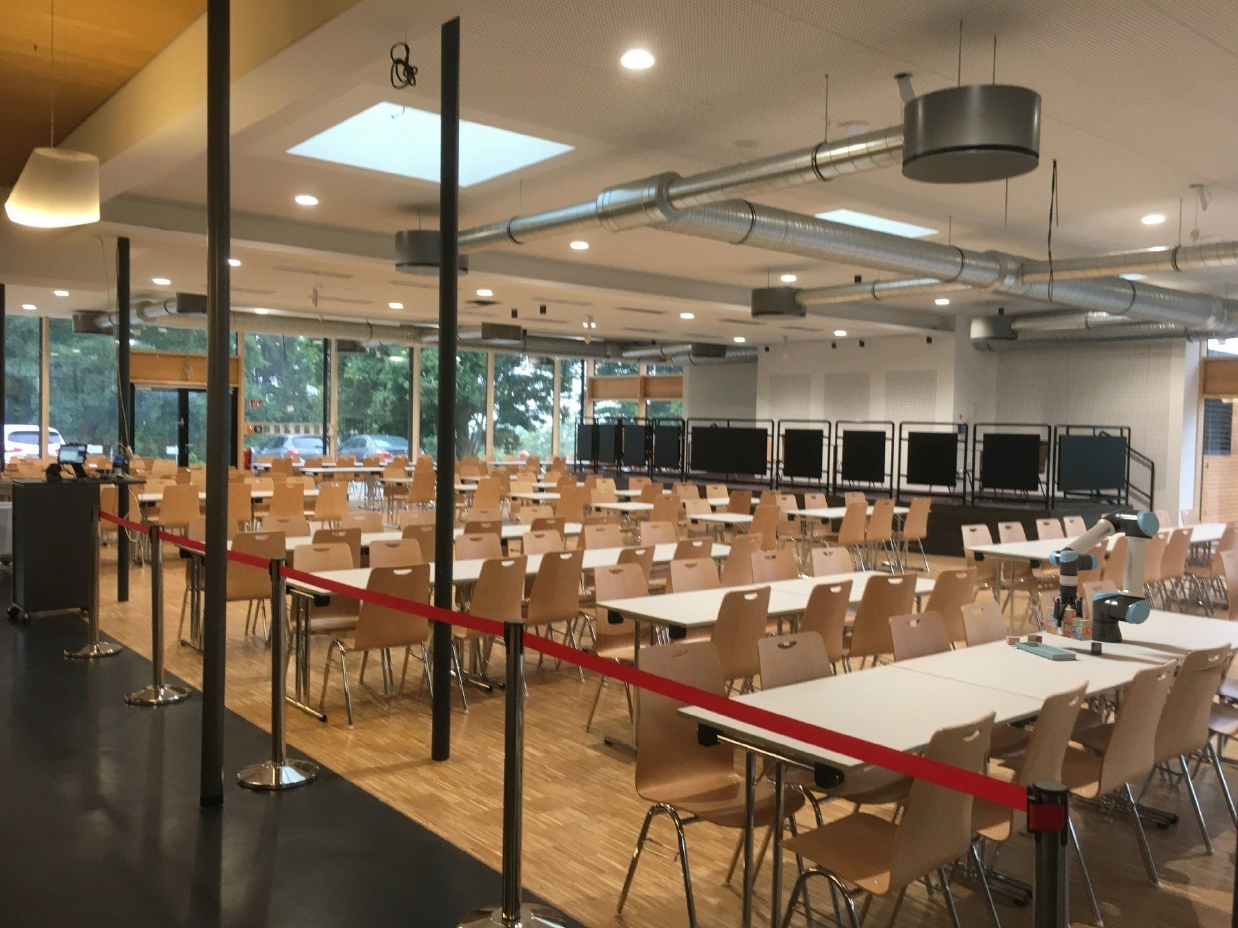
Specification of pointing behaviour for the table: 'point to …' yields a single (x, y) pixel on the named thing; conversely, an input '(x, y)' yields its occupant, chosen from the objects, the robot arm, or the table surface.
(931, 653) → the table surface
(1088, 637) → the stack of blocks
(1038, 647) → the tray
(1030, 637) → the walnut cube
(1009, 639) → the terracotta block
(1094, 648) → the metal cylinder
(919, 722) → the table surface
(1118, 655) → the table surface
